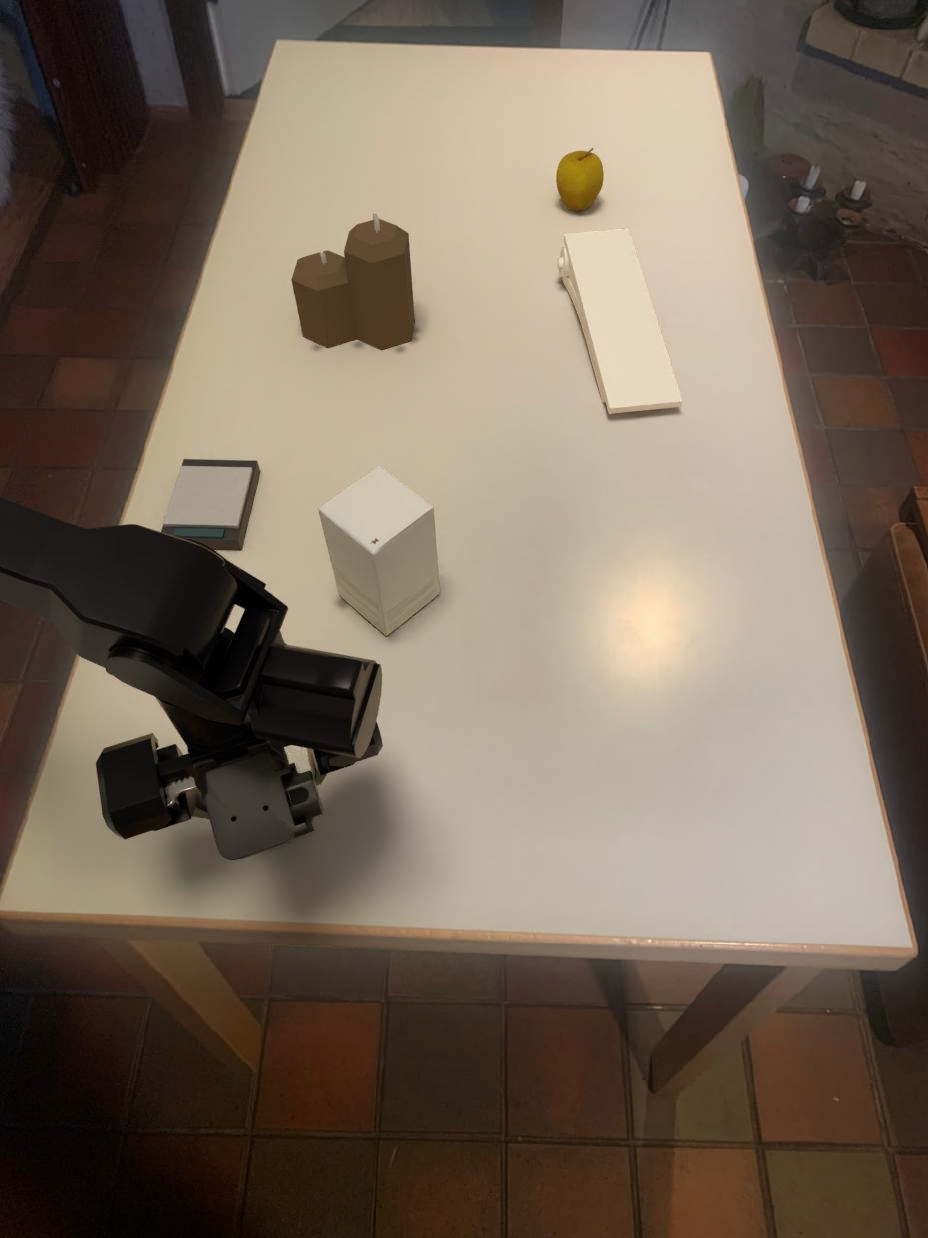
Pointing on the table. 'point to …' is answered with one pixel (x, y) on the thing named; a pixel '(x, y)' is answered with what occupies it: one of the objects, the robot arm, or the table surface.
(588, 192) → the apple
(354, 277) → the candle
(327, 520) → the white packaging box
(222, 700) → the robot arm
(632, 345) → the wall bracket
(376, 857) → the table surface
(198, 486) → the kitchen scale
